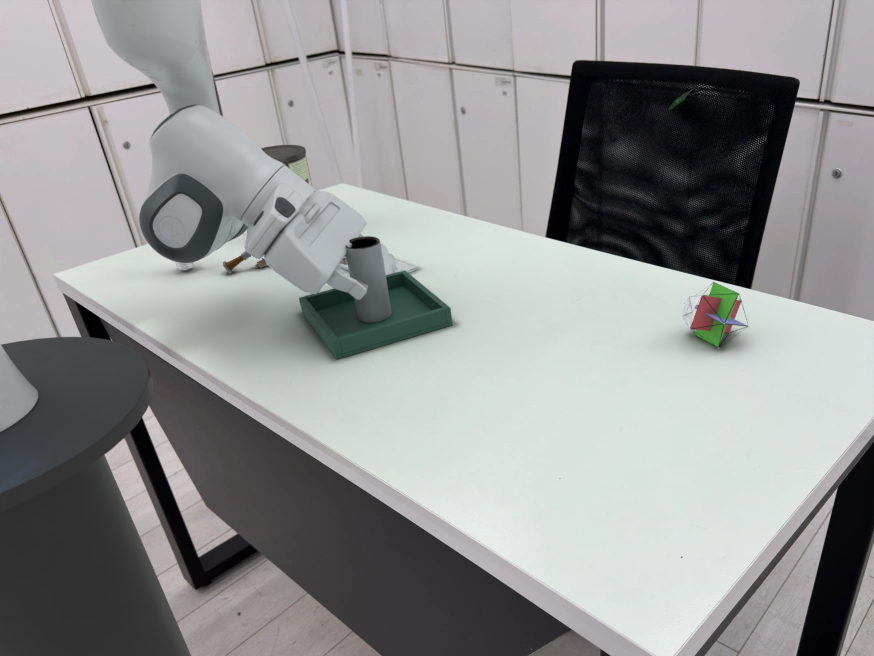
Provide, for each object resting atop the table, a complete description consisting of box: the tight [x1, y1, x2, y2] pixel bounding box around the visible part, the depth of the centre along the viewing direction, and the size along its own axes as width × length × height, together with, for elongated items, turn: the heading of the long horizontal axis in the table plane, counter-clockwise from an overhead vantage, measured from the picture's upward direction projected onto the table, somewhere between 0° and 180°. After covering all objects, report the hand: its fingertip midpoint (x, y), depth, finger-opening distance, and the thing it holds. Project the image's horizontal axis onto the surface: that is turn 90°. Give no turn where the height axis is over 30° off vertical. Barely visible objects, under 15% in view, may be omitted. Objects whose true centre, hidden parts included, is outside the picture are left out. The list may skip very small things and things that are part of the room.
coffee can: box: [260, 144, 313, 187], centre depth 129 cm, size 10×10×14 cm
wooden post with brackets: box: [222, 250, 268, 275], centre depth 118 cm, size 2×8×4 cm, turn 108°
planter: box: [345, 235, 392, 323], centre depth 97 cm, size 4×4×10 cm
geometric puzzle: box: [682, 280, 750, 349], centre depth 87 cm, size 7×7×8 cm
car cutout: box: [338, 243, 418, 275], centre depth 115 cm, size 15×7×4 cm, turn 46°
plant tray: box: [298, 270, 453, 360], centre depth 99 cm, size 16×16×2 cm
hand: (373, 279), depth 96 cm, fingers open, 8 cm apart
